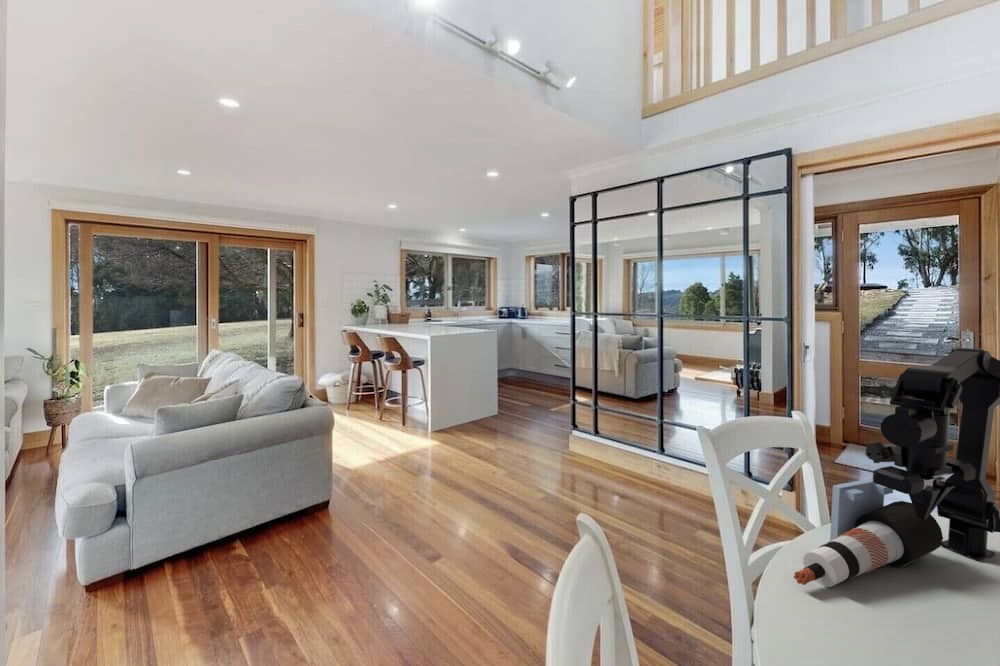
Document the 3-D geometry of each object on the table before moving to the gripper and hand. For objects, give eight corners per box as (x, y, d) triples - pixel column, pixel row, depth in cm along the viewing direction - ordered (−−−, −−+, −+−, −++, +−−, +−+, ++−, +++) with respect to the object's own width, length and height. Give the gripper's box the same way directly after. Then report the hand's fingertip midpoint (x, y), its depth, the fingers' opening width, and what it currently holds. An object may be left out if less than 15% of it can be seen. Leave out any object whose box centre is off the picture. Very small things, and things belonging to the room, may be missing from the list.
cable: (789, 605, 86) (764, 548, 89) (900, 551, 98) (875, 502, 101) (838, 613, 77) (810, 549, 80) (954, 552, 89) (924, 499, 92)
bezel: (874, 538, 101) (877, 477, 100) (892, 546, 98) (896, 483, 97) (829, 549, 97) (832, 485, 96) (847, 558, 94) (850, 492, 93)
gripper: (909, 419, 94) (906, 492, 95) (844, 430, 88) (841, 507, 90) (979, 435, 84) (974, 516, 85) (910, 448, 78) (906, 535, 79)
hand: (921, 518), depth 85 cm, fingers closed
